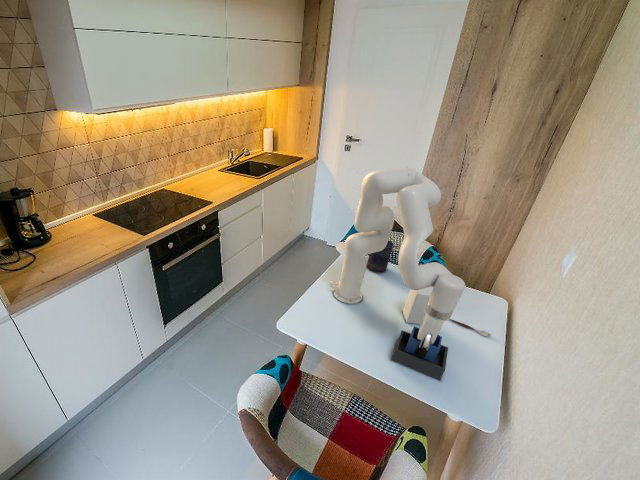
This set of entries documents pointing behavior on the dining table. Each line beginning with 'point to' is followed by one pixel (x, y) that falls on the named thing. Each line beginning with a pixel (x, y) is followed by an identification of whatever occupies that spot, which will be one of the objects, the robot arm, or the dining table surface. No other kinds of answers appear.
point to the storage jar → (380, 259)
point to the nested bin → (414, 343)
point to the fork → (470, 328)
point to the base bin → (419, 358)
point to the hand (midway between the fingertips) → (421, 348)
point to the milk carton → (416, 305)
